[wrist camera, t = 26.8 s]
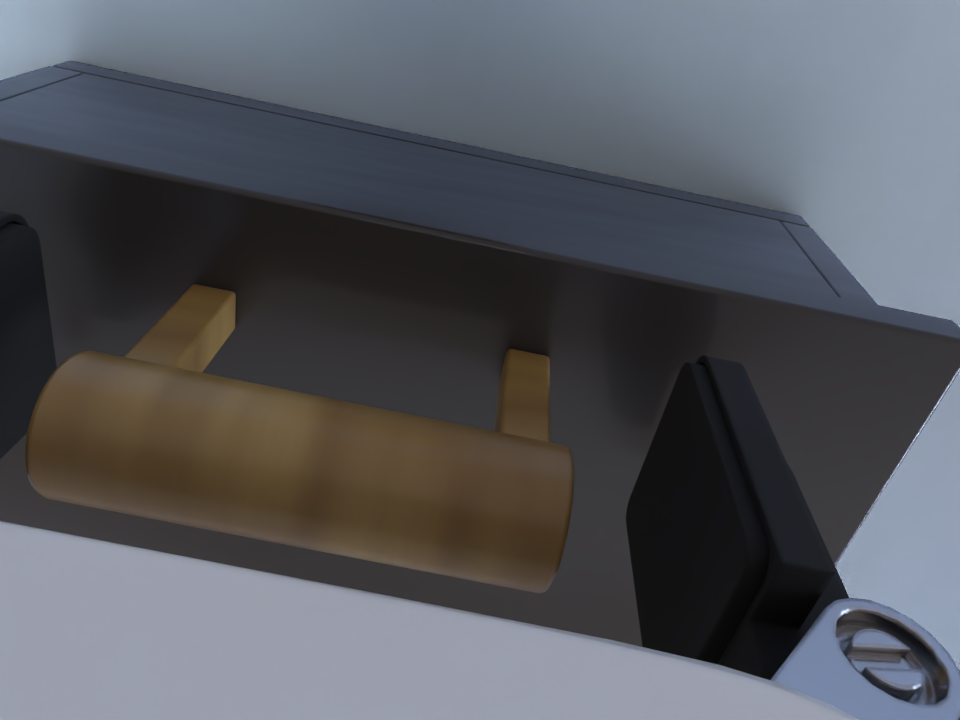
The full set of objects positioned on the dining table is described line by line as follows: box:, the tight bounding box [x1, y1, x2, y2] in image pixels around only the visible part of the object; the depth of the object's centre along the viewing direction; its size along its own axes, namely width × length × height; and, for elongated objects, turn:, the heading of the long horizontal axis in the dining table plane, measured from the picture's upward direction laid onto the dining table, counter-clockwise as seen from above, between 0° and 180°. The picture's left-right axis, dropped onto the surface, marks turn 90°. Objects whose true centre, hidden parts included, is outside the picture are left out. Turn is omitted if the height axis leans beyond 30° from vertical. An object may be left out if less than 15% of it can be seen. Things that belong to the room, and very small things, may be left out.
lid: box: [0, 122, 960, 647], centre depth 13 cm, size 14×18×5 cm
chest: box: [0, 61, 878, 305], centre depth 18 cm, size 14×18×7 cm
